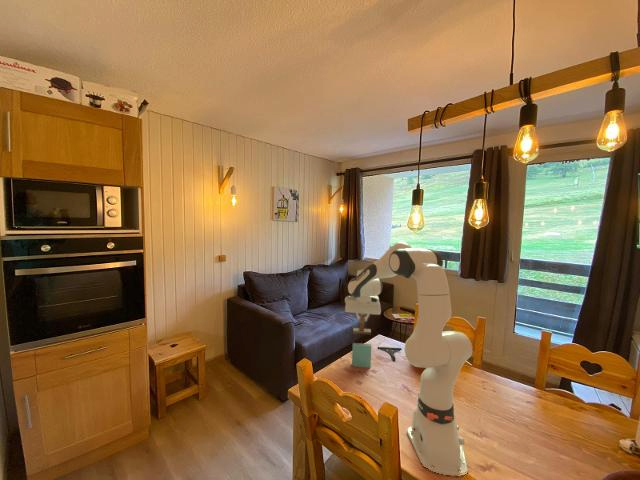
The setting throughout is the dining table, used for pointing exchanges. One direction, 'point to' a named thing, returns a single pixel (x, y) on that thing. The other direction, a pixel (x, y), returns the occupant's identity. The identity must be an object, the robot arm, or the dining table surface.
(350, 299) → the robot arm
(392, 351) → the bracket
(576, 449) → the dining table surface
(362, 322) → the inverted t stand
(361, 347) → the tile
